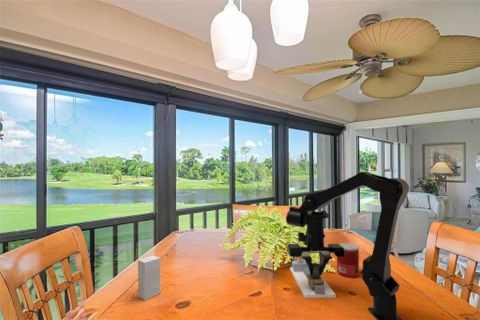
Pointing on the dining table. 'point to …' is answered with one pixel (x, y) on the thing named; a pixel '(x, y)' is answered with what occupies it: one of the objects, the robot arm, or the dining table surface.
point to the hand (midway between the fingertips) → (315, 275)
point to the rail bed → (300, 276)
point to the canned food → (349, 261)
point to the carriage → (315, 276)
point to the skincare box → (149, 277)
